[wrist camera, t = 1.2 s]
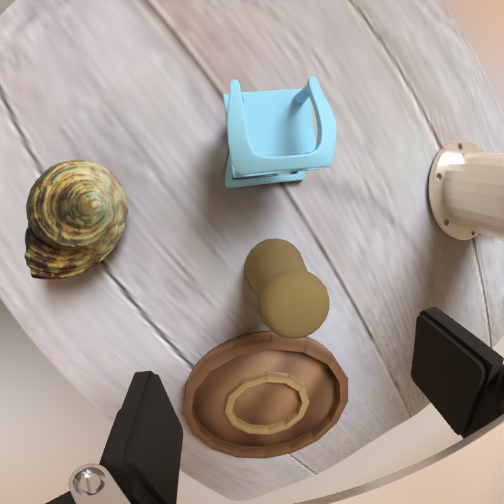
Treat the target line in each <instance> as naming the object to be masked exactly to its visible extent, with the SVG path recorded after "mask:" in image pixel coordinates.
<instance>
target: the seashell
mask: <svg viewBox="0 0 504 504" xmlns="http://www.w3.org/2000/svg"><path fill="white" fill-rule="evenodd" d="M26 211H27V219H28V228H27V230H26V234H25V244H26V253H25V259H26V262H27V265H28V267H30V269H31V276H32V277H33V278H39V279H62V278H66V277H71V276H73V275H76V274H80V273H82V272H84V271H86V270H88V269H90V268H92V267H94V266H95V265H97V264H98V263H99V262H101V261H102V260H103V259H104V258H105V257H106V256H107V255H108V254H109V253H110V252H111V250H113V249H114V248H115V247H116V245H117V244H118V242H119V239H120V237H121V234H122V232H123V230H124V227H125V222H124V219H125V217H126V215H127V213H128V204H127V200H126V196H125V192H124V190H123V188H122V186H121V184H120V183H119V181H118V180H117V178H116V177H115V176H114V175H113V174H112V173H111V172H110V171H109V170H108V169H106V168H105V167H103V166H101V165H99V164H97V163H93V162H90V161H84V160H71V161H67V162H62V163H58V164H56V165H54V166H52V167H50V168H49V169H48V170H46V171H45V172H44V173H43V174H42V175H41V176H40V177H39V178H38V179H37V180H36V182H35V184H34V185H33V187H32V188H31V190H30V193H29V196H28V199H27V205H26Z"/></svg>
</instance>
